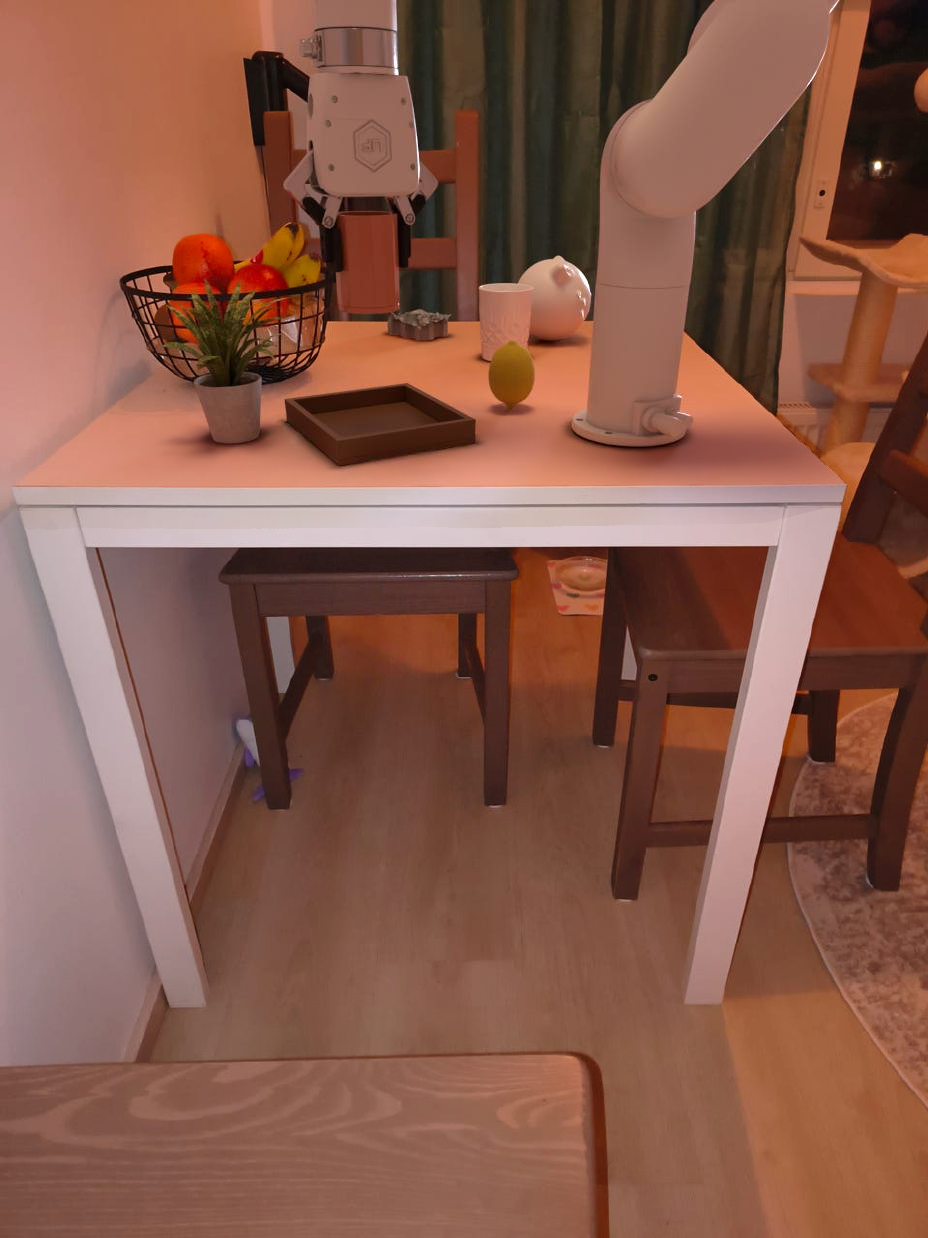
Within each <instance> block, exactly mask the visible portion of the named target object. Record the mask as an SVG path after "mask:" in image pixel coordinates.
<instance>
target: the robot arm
mask: <svg viewBox="0 0 928 1238" xmlns="http://www.w3.org/2000/svg"><path fill="white" fill-rule="evenodd" d="M839 1H840V0H713V1H712V2H711V3H710V5H709V6H708V7H707V9H706V10H705V11H704V13H703V14H702V15H701V17H700V19H699V20H698V21H697V24H696V26H695V27H694V30H693V32H692V34H691V36H690V40H689V43H688V47H687V53H686V55H685V57H684V58H683V59H682V61H681V62H680V63H679V65H678V66H677V67H676V69H674V71H673V73H672V74H671V75H670V76H669V78H668V79H667V80H666V81H665V83H664V84H663V86H662V87H661V88H660V89H659V91H658V92H657V93H656V95H654V97H653V98H650V99H647V100H643V101H641V102H639V103H637V104H635V105H633V106H632V107H631V108H629V109H628V110H626V111H625V112H624V113H623V114H622V115H621V116H620V117H619V118H618V120H616V122H615V124H614V125H613V127H612V129H611V130H610V132H609V134H608V137H607V138H606V141H605V144H604V148H603V151H602V155H601V162H600V171H599V231H598V232H599V235H598V252H597V253H598V254H597V268H596V269H597V270H596V280H595V289H594V290H595V291H594V305H593V319H592V333H591V345H590V358H589V359H590V360H589V375H588V386H587V401H586V408H585V409H582V410H580V411H578V412H576V413H575V414H574V415H573V416H572V417H571V429H572V431H573V432H574V433H575V434H577V435H578V436H580V437H582V438H583V439H586V440H589V441H592V442H595V443H596V442H597V443H601V444H606V445H611V446H619V447H620V446H621V447H655V446H662V445H666V444H671V443H674V442H677V441H679V440H680V439H682V438H683V437H684V436H685V435H686V432H687V431H686V430H687V429H690V428H691V427H692V426H693V423H694V418H693V416H692V415H690V414H687V413H684V412H681V403H682V396H680V395H677V389H678V381H679V372H680V365H681V357H682V349H683V340H684V332H685V325H686V317H687V309H688V302H689V293H690V286H691V281H692V272H693V265H694V264H693V263H694V255H695V254H694V253H695V244H696V243H695V242H696V241H695V240H696V216H697V215H696V213H697V211H698V210H700V209H701V208H702V207H704V206H705V205H707V204H708V203H709V202H710V201H711V200H712V199H714V197H715V196H716V195H718V193H720V191H722V190H723V188H724V187H725V186H726V185H727V184H728V183H729V182H730V181H731V180H732V178H733V177H734V176H735V175H736V174H737V172H738V171H739V170H740V169H741V168H742V166H743V165H744V164H745V163H746V162H747V160H748V159H750V157H751V156H752V155H753V154H754V153H755V151H756V150H757V149H758V147H759V146H760V145H761V144H762V143H763V141H764V140H765V139H766V138H767V137H768V135H769V134H770V133H771V132H772V131H773V130H774V128H775V127H776V126H777V125H778V124H779V122H780V121H781V120H782V119H783V118H784V117H785V115H786V114H787V113H788V112H789V111H790V109H791V108H792V107H793V106H794V104H795V103H796V102H797V101H798V99H799V98H800V97H801V96H802V94H803V93H804V92H805V90H806V89H807V88H808V86H809V85H810V84H811V82H812V81H813V79H814V77H815V76H816V74H817V72H818V70H819V67H820V65H821V64H822V61H823V59H824V56H825V53H826V51H827V47H828V44H829V43H828V42H829V38H830V32H831V12H832V11H833V10H834V8H835V7H836V6H837V4H838V2H839ZM397 13H398V11H397V0H311V15H312V28H313V29H312V30H313V31H312V32H311V35H310V37H308V38H307V39H303V38H300V40H299V54H300V56H301V57H302V58H308V59H309V60H312V62H313V67H314V68H315V70H316V72H315V73H311V74H310V75H309V82H308V83H309V84H308V91H307V92H308V93H307V107H306V108H307V109H306V110H307V112H306V154H305V155H304V157H303V158H302V159H301V160H300V161H299V162H298V164H297V165H296V166H295V167H294V168H293V170H292V171H291V172H290V173H289V175H288V176H287V177H286V179H285V180H284V181H283V189H284V190H285V191H286V193H287V194H288V195H289V196H290V197H291V198H292V199H293V200H294V201H295V202H296V203H297V204H298V205H299V207H300V208H301V209H302V210H303V212H305V213H306V214H307V216H308V217H309V218H311V220H312V221H313V222H314V223H315V225H316V226H318V232H319V245H320V246H319V247H320V257H321V261H322V263H324V264H325V267H326V270H328V271H331V272H333V273H336V272H341V271H343V259H342V243H341V231H340V229H339V228H336V217H337V214H338V212H340V209H341V205H342V202H343V198H361V197H362V198H365V197H367V198H368V197H384V199H385V200H386V203H387V206H388V209H389V212H395V213H397V232H398V261H399V269H408V268H409V259H410V258H411V257H412V232H411V229H412V228H411V226H412V225H413V224H414V223H415V221H416V217H418V215H419V213H420V212H421V211H422V210H423V208H424V207H425V206H426V203H427V201H428V200H429V199H430V197H431V196H432V195H433V193H434V192H435V191H436V189H437V188H438V186H439V180H438V179H437V178H436V177H435V175H433V173H432V172H431V171H430V170H429V168H428V167H427V166H426V165H425V164H424V163H423V161H421V160H420V158H419V157H420V156H419V147H418V136H417V135H418V133H417V127H416V126H417V125H416V118H415V112H414V105H413V99H412V93H411V88H410V84H409V78H408V76H407V75H400V74H399V50H398V49H399V47H398V46H399V45H398V15H397ZM307 181H309V185H310V187H311V189H312V191H314V192H316V193H318V194H320V196H319V198H318V201H317V200H316V199H315V198H314V197H313V196H312V195H311V194H310V193H309V191H307V189H306V187H305V185H306V183H307ZM408 195H409V196H408Z"/></svg>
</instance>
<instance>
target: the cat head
mask: <svg viewBox="0 0 928 1238" xmlns="http://www.w3.org/2000/svg"><path fill="white" fill-rule="evenodd" d="M517 284H524V285H529V286H532V287H533V296H532V309H531V322H530V328H529V335H531V336H532V337H534V338H536V339H539V340H542V341H547V342H548V341H549V342H550V341H551V342H553V341H560V340H563V339H566V338H567V337H569V336H571V335H573V334H574V333H575V332H576V331H578V330H579V329H580V328H581V326H582V325H583V324H584V323H585V320H586V318H587V317H588V314H589V312H590V309H591V308H590V307H591V304H592V303H591V301H592V293H591V288H590V285H589V283H588V280H587V278H586V277H585V275H584V273H582V271H581V270H580V269H579V268H578V267H577V266H575V265H574V264H573V263H570V262H569V261H566V259H564V258H563V257H562V256H560V255H556V256H555V257H553V258H549V259H544V260H540V261H538V262H536V263H534V264H533V265H531V266H530V267H529V268H527V269H526V270H525V272H523V274H522V275H521V277H520V278H519V280H518V282H517Z"/></svg>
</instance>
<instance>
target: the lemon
mask: <svg viewBox="0 0 928 1238" xmlns="http://www.w3.org/2000/svg"><path fill="white" fill-rule="evenodd" d="M535 369H536V367H535V363H534V359H533V357H532V355H531V353H530V351H529V350H528V348H527V349H526V348H524V347H523V346H521V345H519V344H517V343H516V341H509V343H508V344H506V345H503V346H502V347H500V348H499V349H498V350H497V351H496V352H495V353H494V355H493V357H492V360H491V361H490V364H489V368H488V385H489V388H490V391H491V393H492V395H493V396H494V398H496V400H498V401H499V402H501V403H502V404H505V406H506V407H507V409H513V408H515V407H516V406H517V405H518V404H520V403H522V402H523V401H525V400H526V399H527V398H528V397H529V396H530V394H531V392H532V390H533V389H534V385H535V379H536V370H535Z"/></svg>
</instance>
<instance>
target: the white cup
mask: <svg viewBox="0 0 928 1238" xmlns="http://www.w3.org/2000/svg"><path fill="white" fill-rule="evenodd" d="M532 296H533V287H532V286H529V285H524V284H518V283H508V282H506V283H505V282H503V283H502V282H501V283H487V284H482V285H479V286H478V310H479V314H478V315H479V331H480V333H479V335H480V340H481V343H480V344H481V357H482V359H483V360H485V361H488V362H491V360H492V357H493V355H494V353H495V352H496V351H497V350H498V349H499V348H500V347H502V346H503V345H506V344H508V343H509V341H516V343H517V344H519V345H521V346H523V347H524V348H526V349H527V350H528V347H529V346H528V345H529V342H528V341H529V338H530V334H529V328H530V322H531V309H532Z"/></svg>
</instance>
